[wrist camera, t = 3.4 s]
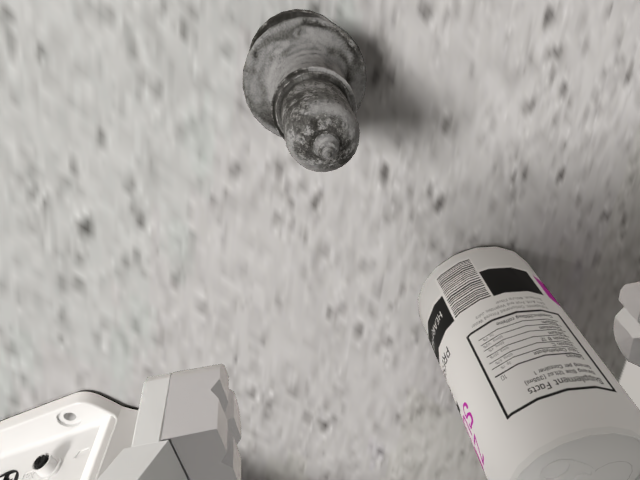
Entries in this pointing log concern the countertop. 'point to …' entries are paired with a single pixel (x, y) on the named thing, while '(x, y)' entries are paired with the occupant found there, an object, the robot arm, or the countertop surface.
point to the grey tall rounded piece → (307, 87)
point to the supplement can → (525, 374)
